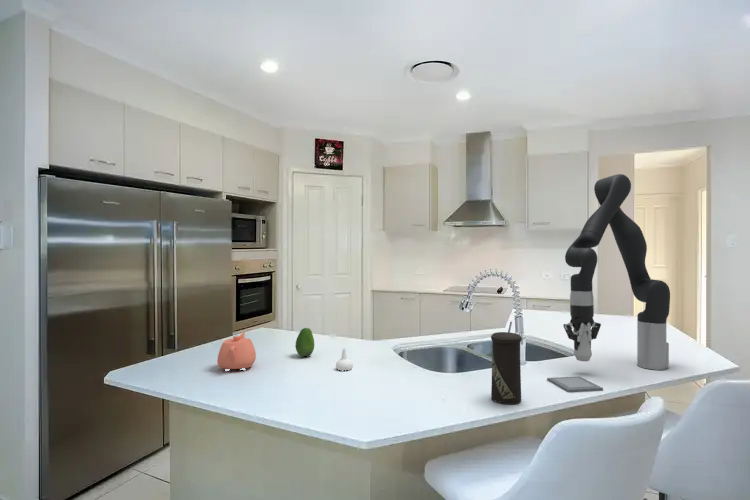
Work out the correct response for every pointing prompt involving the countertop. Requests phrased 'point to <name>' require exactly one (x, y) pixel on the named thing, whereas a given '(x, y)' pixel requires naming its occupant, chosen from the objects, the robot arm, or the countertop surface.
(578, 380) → the coaster
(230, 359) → the teapot
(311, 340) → the fruit
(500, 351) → the container
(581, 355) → the grey rounded lobed piece
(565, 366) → the countertop surface
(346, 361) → the garlic bulb
